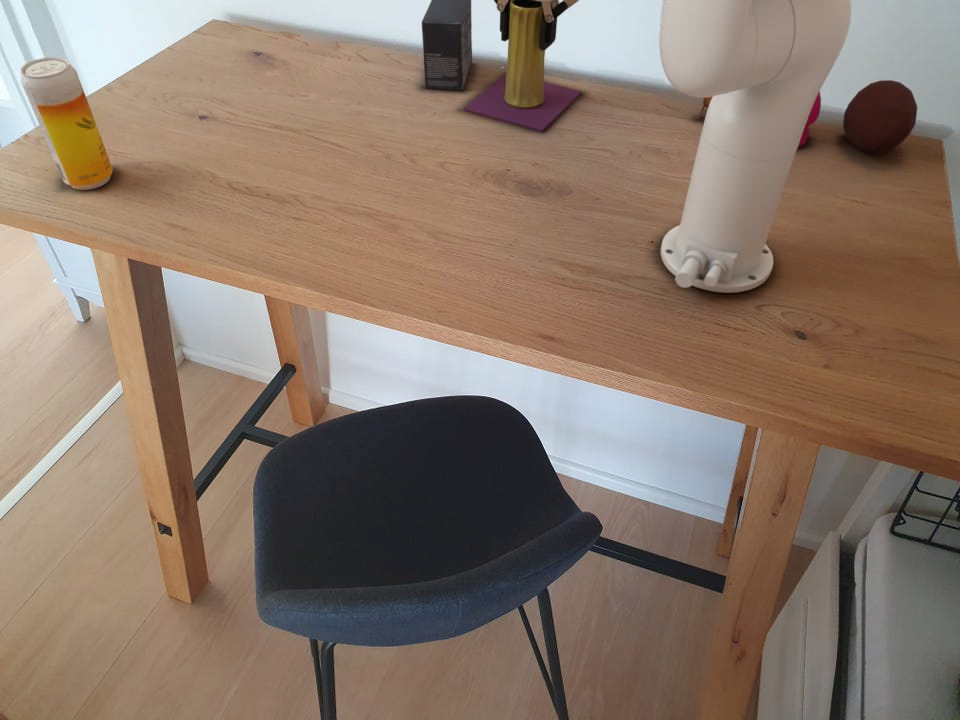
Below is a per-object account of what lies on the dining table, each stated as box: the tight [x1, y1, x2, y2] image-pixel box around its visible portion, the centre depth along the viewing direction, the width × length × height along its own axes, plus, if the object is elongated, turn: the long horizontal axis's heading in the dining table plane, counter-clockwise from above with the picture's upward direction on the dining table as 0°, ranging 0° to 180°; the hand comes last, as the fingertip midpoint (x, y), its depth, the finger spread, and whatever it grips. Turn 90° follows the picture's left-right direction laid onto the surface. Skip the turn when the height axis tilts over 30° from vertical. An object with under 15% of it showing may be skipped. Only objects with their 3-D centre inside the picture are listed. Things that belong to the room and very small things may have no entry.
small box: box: [421, 0, 473, 92], centre depth 119 cm, size 11×6×10 cm, turn 173°
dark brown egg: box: [842, 79, 918, 154], centre depth 104 cm, size 9×12×9 cm
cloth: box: [463, 73, 583, 133], centre depth 116 cm, size 14×13×1 cm
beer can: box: [20, 56, 114, 191], centre depth 94 cm, size 6×6×15 cm
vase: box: [504, 0, 546, 108], centre depth 111 cm, size 6×6×14 cm
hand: (527, 41), depth 110 cm, fingers closed on vase, 5 cm apart
